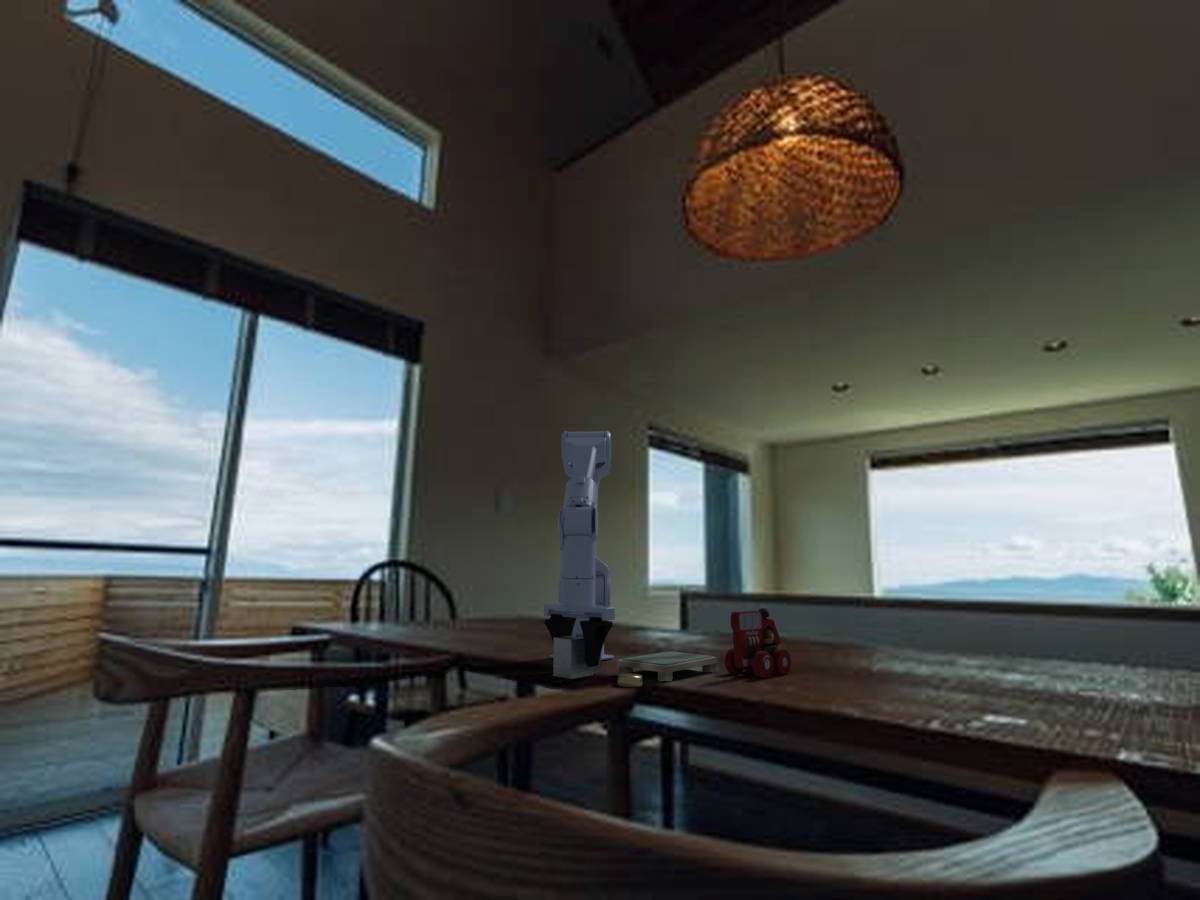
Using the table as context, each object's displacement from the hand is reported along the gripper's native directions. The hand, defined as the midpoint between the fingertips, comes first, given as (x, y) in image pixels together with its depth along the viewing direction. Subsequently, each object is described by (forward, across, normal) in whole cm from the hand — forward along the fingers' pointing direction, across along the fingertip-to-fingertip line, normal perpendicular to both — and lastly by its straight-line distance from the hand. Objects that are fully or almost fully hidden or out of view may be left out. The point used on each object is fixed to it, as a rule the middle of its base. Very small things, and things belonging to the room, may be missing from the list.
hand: (577, 664), depth 105 cm
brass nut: (+2, +12, -1) cm, 12 cm away
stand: (+2, +10, +11) cm, 15 cm away
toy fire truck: (+2, +21, +21) cm, 30 cm away
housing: (+2, 0, 0) cm, 2 cm away
